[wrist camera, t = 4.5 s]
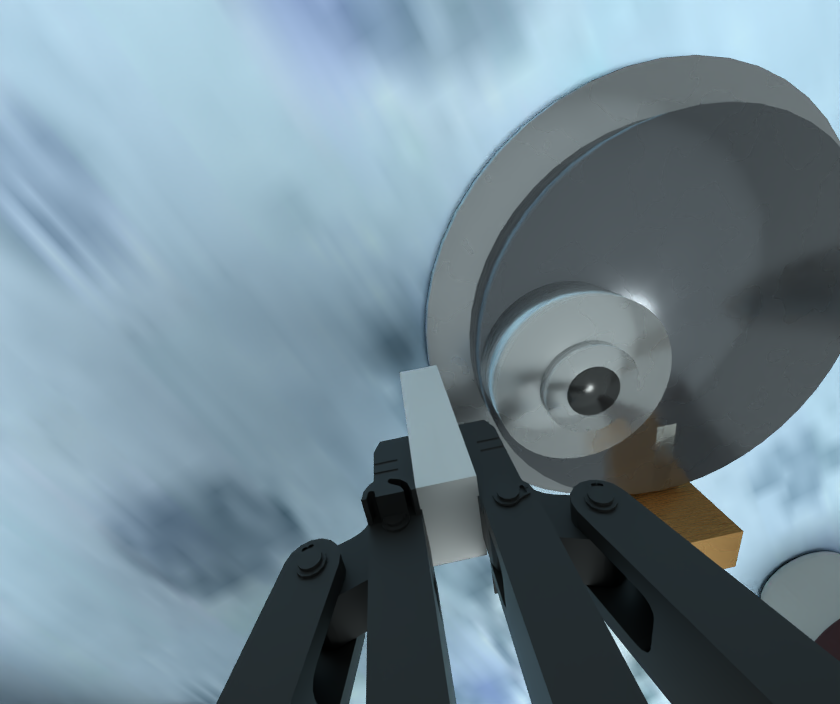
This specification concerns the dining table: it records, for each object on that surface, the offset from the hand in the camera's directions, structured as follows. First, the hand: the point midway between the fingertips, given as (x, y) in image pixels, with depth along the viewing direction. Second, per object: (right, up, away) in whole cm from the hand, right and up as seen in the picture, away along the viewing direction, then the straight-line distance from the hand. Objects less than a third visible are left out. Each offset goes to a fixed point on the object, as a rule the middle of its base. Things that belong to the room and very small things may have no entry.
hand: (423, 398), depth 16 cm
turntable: (+11, +2, +4) cm, 12 cm away
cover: (+6, +2, +1) cm, 6 cm away
